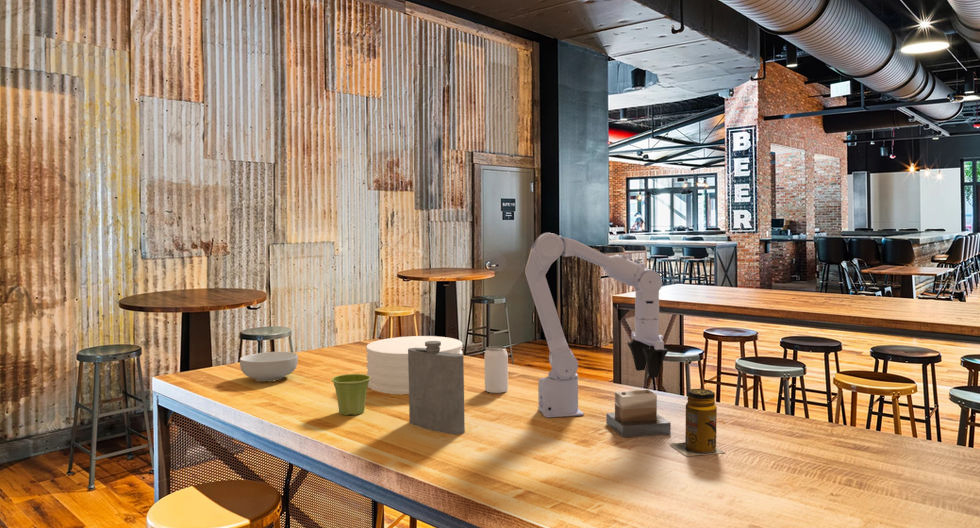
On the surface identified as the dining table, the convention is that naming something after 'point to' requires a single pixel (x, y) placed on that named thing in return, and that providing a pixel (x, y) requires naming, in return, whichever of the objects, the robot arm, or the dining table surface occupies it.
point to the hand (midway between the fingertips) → (646, 373)
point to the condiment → (699, 424)
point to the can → (496, 369)
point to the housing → (635, 405)
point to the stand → (639, 426)
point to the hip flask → (436, 389)
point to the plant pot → (351, 392)
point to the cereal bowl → (269, 365)
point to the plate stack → (399, 360)
